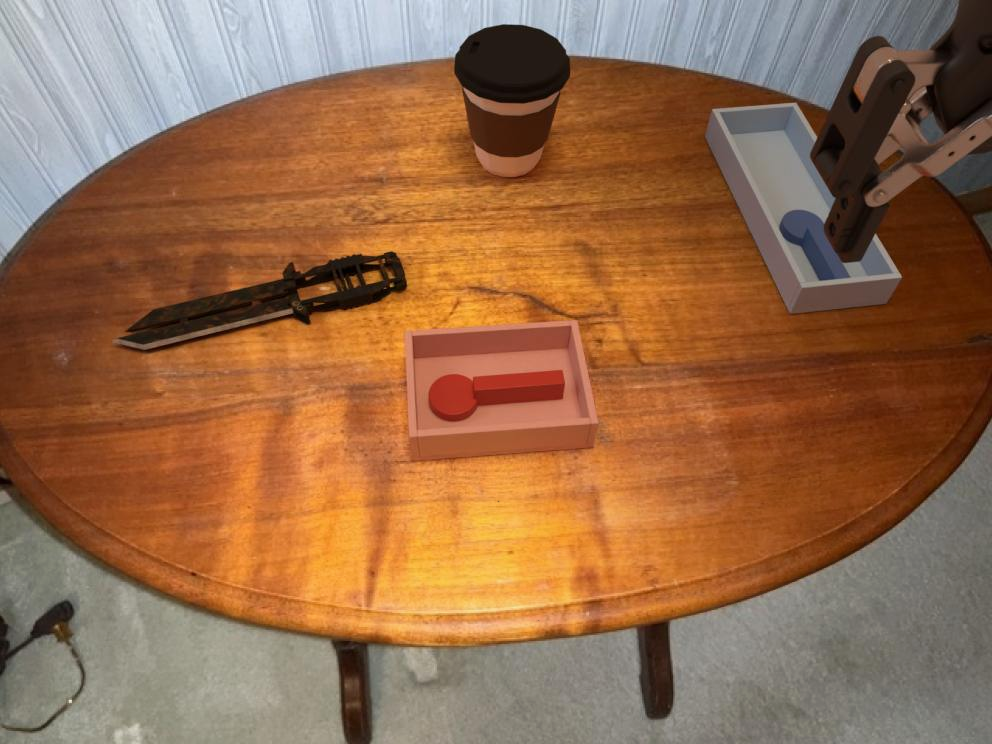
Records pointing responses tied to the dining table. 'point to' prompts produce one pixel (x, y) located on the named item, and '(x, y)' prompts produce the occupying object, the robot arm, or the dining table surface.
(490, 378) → the red spoon
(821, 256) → the blue spoon
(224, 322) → the knife
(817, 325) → the dining table surface
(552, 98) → the coffee cup
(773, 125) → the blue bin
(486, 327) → the rose bin
